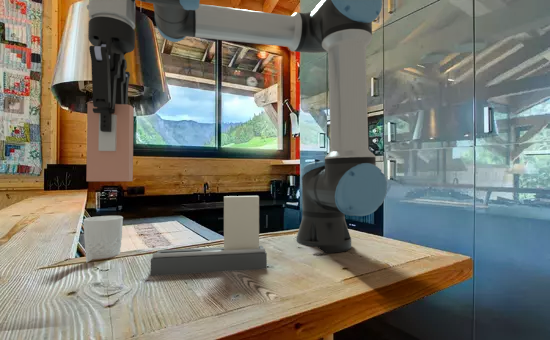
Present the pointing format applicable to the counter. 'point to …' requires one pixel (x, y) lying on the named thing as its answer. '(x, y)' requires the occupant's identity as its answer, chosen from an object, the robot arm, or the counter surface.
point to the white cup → (102, 236)
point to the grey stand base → (207, 260)
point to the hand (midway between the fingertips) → (110, 151)
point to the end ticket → (110, 151)
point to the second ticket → (241, 222)
